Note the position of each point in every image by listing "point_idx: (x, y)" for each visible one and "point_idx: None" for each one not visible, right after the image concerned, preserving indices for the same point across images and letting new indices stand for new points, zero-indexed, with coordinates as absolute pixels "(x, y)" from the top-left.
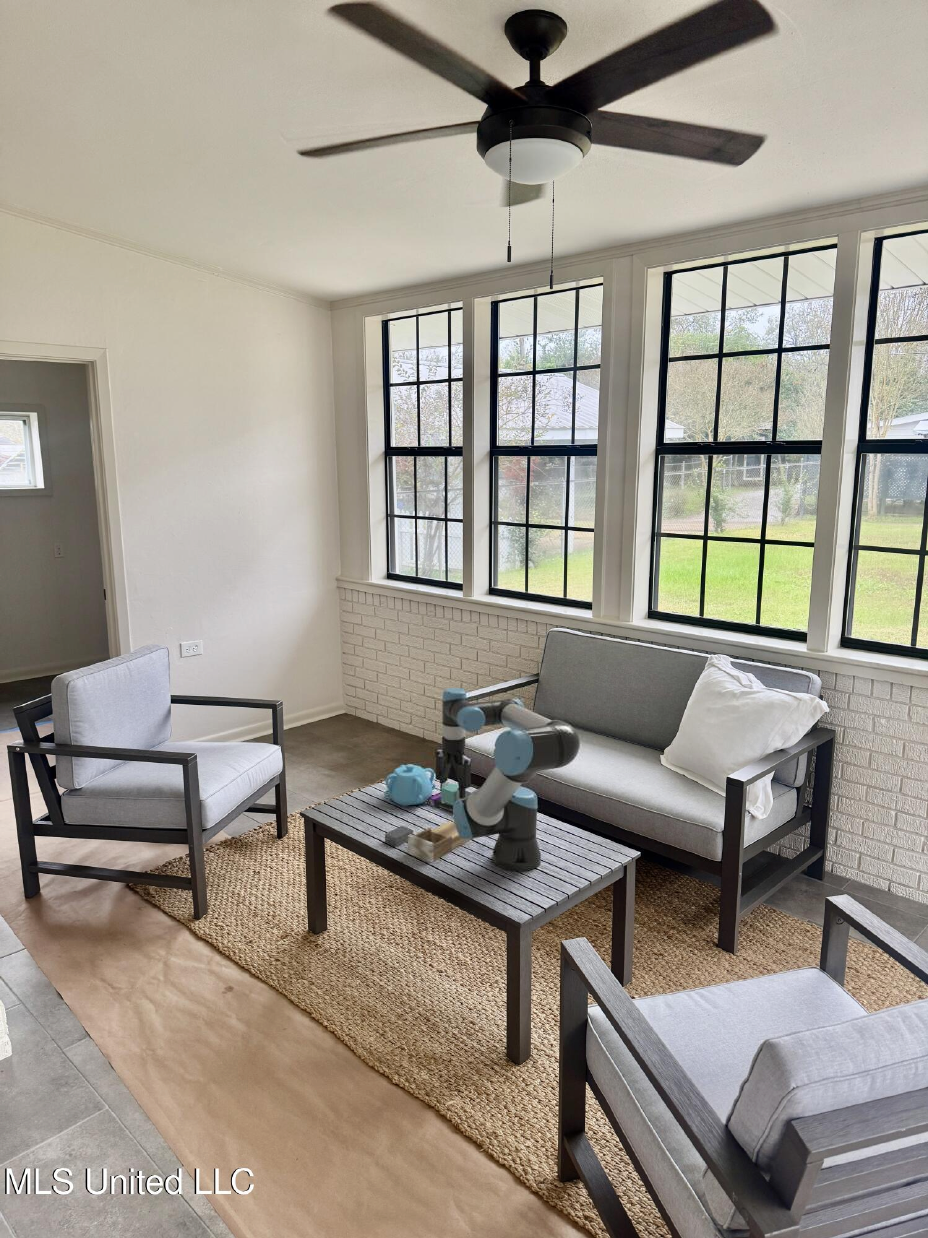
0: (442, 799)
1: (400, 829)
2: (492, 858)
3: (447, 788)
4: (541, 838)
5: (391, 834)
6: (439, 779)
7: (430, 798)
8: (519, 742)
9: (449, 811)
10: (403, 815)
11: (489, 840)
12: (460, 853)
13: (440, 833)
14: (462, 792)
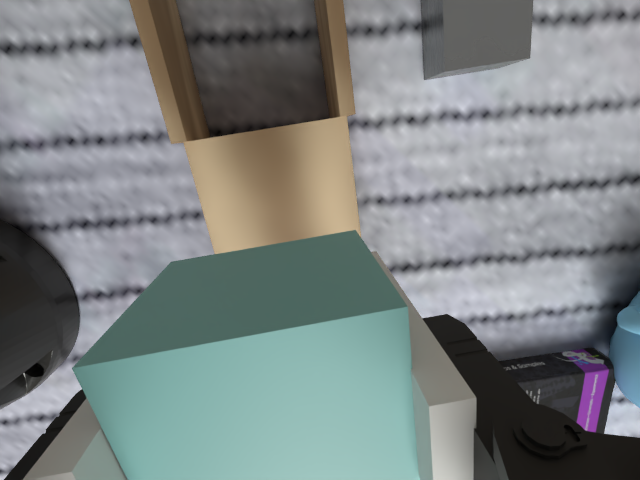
0: (338, 242)
1: (504, 14)
2: (13, 229)
3: (308, 379)
4: None
5: None
6: (629, 468)
7: (605, 368)
8: None
9: None
10: (614, 209)
11: None
12: (155, 158)
13: (279, 141)
14: (21, 466)
